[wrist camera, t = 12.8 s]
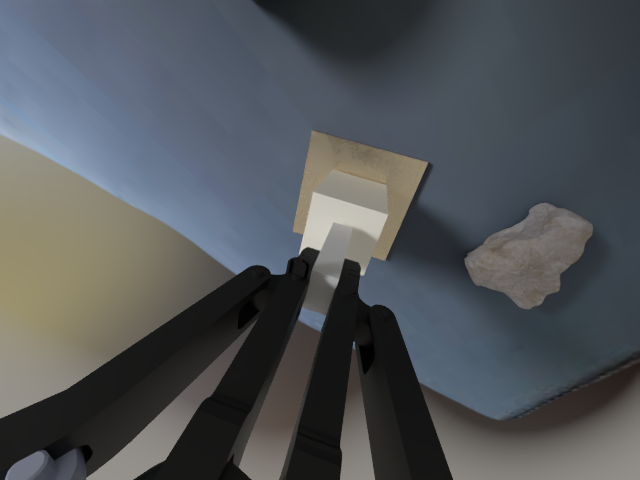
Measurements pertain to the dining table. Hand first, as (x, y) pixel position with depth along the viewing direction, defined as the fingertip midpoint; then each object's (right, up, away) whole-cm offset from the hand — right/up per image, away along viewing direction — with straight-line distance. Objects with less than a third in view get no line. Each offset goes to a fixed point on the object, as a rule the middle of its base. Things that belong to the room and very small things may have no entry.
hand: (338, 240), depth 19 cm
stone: (+19, 0, +7) cm, 21 cm away
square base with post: (+2, +5, +9) cm, 10 cm away
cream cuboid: (+2, +4, +8) cm, 9 cm away
